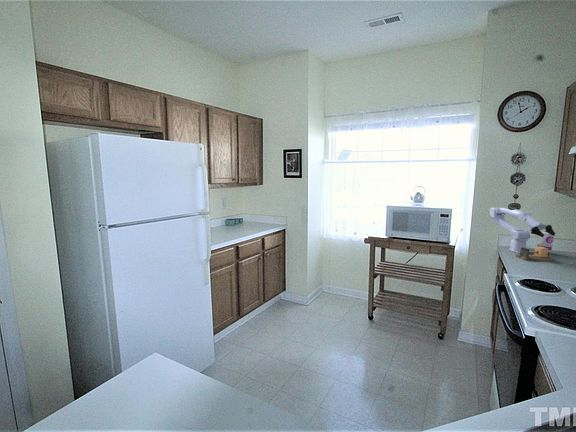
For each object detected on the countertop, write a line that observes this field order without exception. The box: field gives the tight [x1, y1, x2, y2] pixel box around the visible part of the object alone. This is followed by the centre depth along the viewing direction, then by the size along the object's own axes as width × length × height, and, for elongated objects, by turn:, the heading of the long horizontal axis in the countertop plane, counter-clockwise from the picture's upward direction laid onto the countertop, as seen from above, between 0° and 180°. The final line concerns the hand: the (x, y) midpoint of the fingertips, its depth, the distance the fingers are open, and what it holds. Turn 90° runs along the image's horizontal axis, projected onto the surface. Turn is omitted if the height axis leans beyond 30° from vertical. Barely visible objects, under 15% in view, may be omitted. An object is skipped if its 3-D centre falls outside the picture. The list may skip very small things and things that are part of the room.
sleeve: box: [533, 246, 548, 257], centre depth 211 cm, size 6×4×6 cm
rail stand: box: [515, 247, 556, 262], centre depth 211 cm, size 10×19×7 cm, turn 88°
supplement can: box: [536, 231, 555, 253], centre depth 226 cm, size 8×8×15 cm
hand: (548, 235), depth 205 cm, fingers open, 7 cm apart
